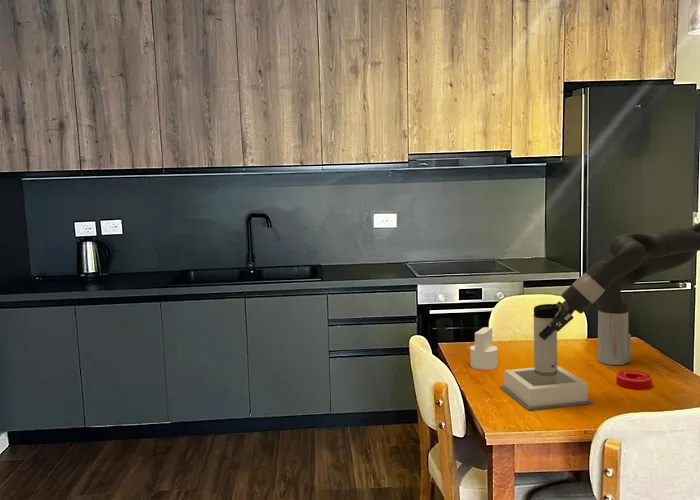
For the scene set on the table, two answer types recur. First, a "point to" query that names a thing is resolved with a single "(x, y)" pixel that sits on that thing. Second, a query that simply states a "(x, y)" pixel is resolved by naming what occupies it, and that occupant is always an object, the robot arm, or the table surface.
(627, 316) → the robot arm
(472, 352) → the cylinder with rectangular tab
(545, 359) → the travel mug
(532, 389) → the square shallow tray
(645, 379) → the decorative ornament
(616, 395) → the table surface
